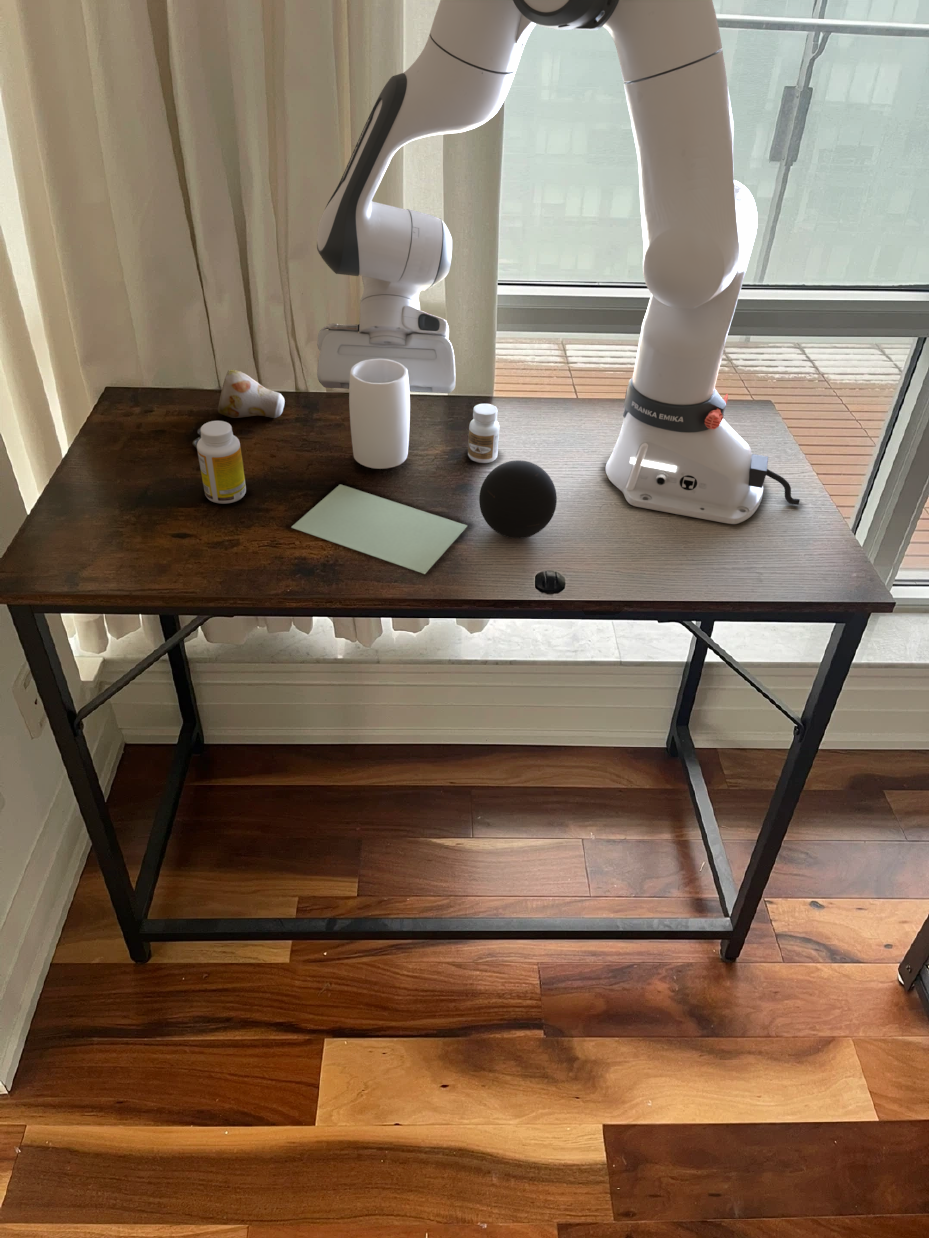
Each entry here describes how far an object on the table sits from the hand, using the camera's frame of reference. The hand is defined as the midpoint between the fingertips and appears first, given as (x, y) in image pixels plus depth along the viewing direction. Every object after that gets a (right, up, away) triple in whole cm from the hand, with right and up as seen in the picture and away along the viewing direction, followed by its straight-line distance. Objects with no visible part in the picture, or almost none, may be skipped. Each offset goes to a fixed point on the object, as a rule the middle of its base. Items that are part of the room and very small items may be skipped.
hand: (385, 418), depth 136 cm
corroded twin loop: (-25, -3, +1) cm, 26 cm away
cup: (-1, -7, -1) cm, 7 cm away
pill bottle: (+14, -5, +2) cm, 15 cm away
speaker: (+18, -18, -12) cm, 28 cm away
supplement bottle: (-21, -12, -9) cm, 26 cm away
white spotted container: (-21, +2, +8) cm, 23 cm away
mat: (0, -17, -13) cm, 21 cm away
